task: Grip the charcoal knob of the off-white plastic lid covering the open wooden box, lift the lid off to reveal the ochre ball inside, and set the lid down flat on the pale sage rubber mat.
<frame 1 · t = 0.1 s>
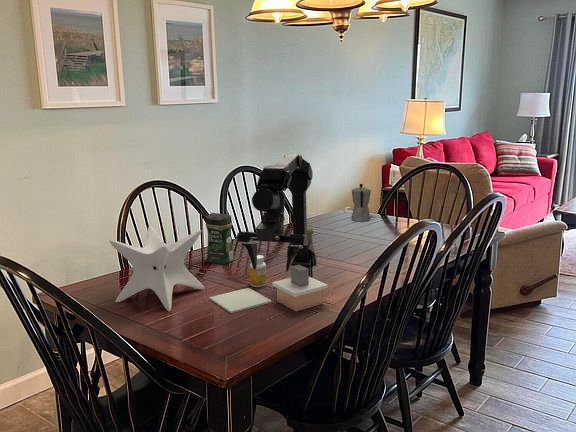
hand: (270, 270, 148), 15 cm above the table, tool pointing down, fingers open, 9 cm apart
coffeepot: (360, 220, 269), on the table
mat: (240, 300, 168), on the table
open wooden box: (300, 302, 166), on the table
lid: (299, 286, 165), point 5 cm above the table, touching open wooden box
supplement bottle: (258, 285, 182), on the table
ball: (299, 294, 165), point 3 cm above the table, touching open wooden box
white spiked star: (161, 296, 174), on the table
coffee jar: (220, 261, 208), on the table
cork: (306, 255, 214), on the table
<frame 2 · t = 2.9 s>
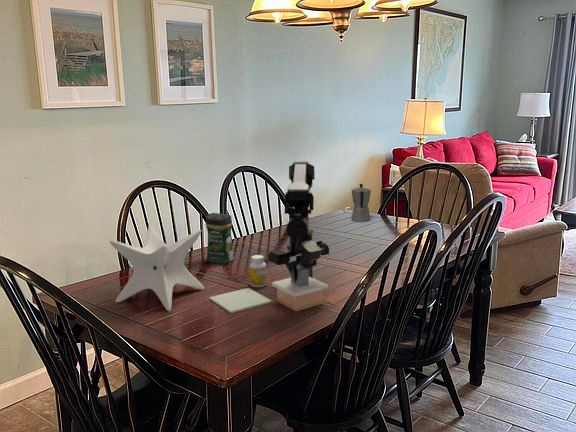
hand: (299, 280, 164), 7 cm above the table, tool pointing down, fingers closed on lid, 3 cm apart
lid: (299, 286, 165), point 5 cm above the table, touching open wooden box, gripper
everything else where it was.
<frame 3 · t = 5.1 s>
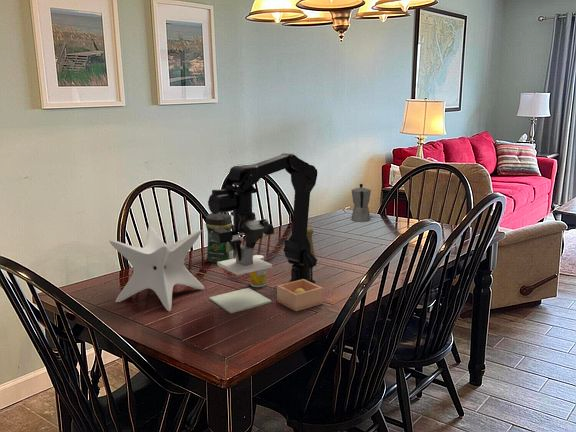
hand: (244, 259, 165), 13 cm above the table, tool pointing down, fingers closed on lid, 3 cm apart
lid: (244, 266, 165), point 11 cm above the table, touching gripper
everything else where it was.
when the fingers open (4 cm above the table, at t = 7.6 s): lid drops 1 cm, resting on mat.
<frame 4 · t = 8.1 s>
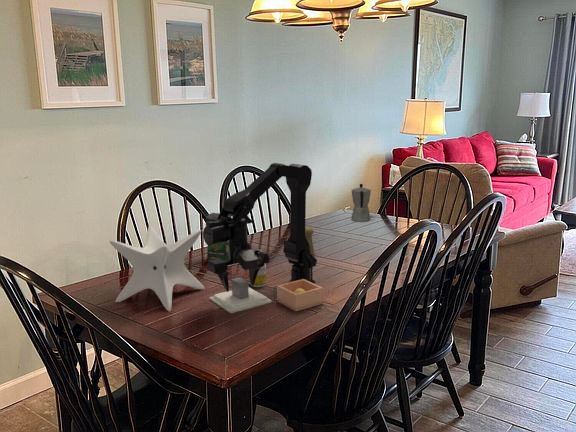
hand: (239, 288, 167), 4 cm above the table, tool pointing down, fingers open, 8 cm apart
lid: (240, 299, 168), point 1 cm above the table, touching mat
everything else where it was.
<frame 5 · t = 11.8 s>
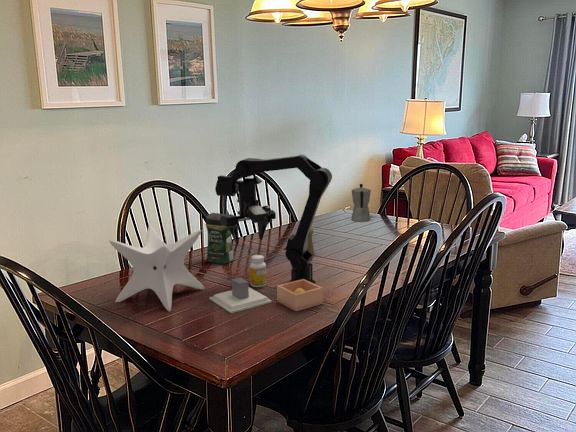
hand: (249, 242, 185), 13 cm above the table, tool pointing down, fingers open, 9 cm apart
nothing on the table moved.
at the end: lid inside the target area on the mat (0.1 cm from its centre), point 0.6 cm above the mat's base; lid touching mat; lid tilted 0° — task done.
